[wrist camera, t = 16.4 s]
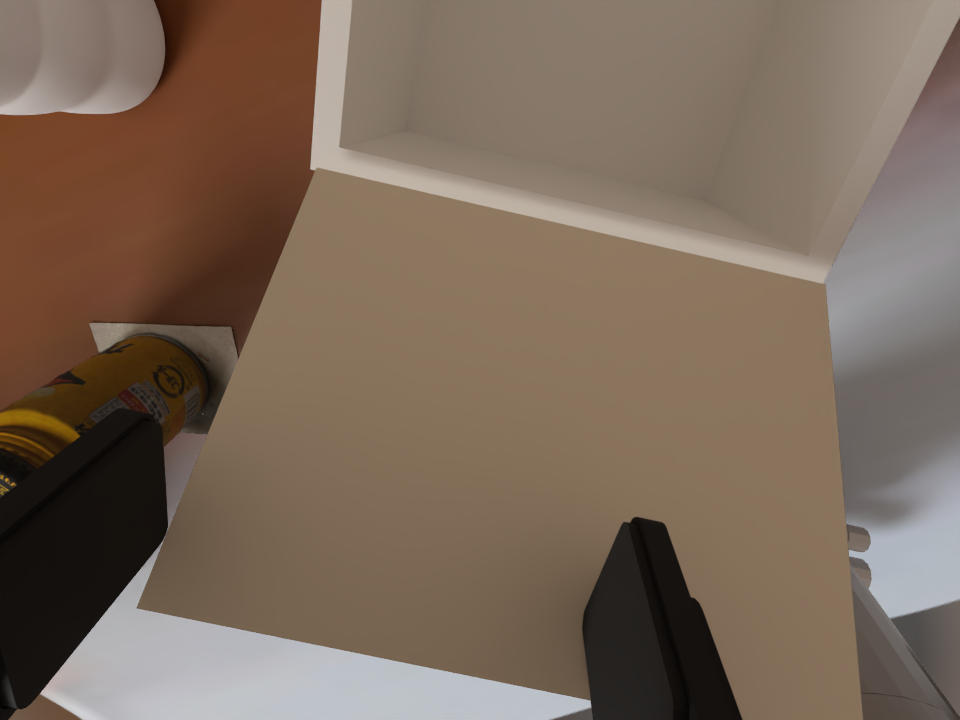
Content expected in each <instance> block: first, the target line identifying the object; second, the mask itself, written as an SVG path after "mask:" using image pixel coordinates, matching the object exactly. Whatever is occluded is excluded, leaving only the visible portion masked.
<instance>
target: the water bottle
mask: <svg viewBox="0 0 960 720" xmlns="http://www.w3.org/2000/svg"><path fill="white" fill-rule="evenodd" d="M164 59H165V38H164V31H163V26H162V22H161V18H160V15H159V12H158V10H157V7H156V4H155V2H154V0H0V114H7V115H35V114H45V113H52V112H57V111H63V112H70V113H83V114H108V113H117V112H122V111H126V110H128V109H131V108H133V107H135V106H137V105H139V104H140V103H141V102H143V101H144V100H145V99H146V98H147V97H148V96H149V95H150V94H151V93H152V91H153V90H154V89H155V87H156V85H157V83H158V81H159V79H160V77H161V74H162V70H163V66H164Z"/></svg>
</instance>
